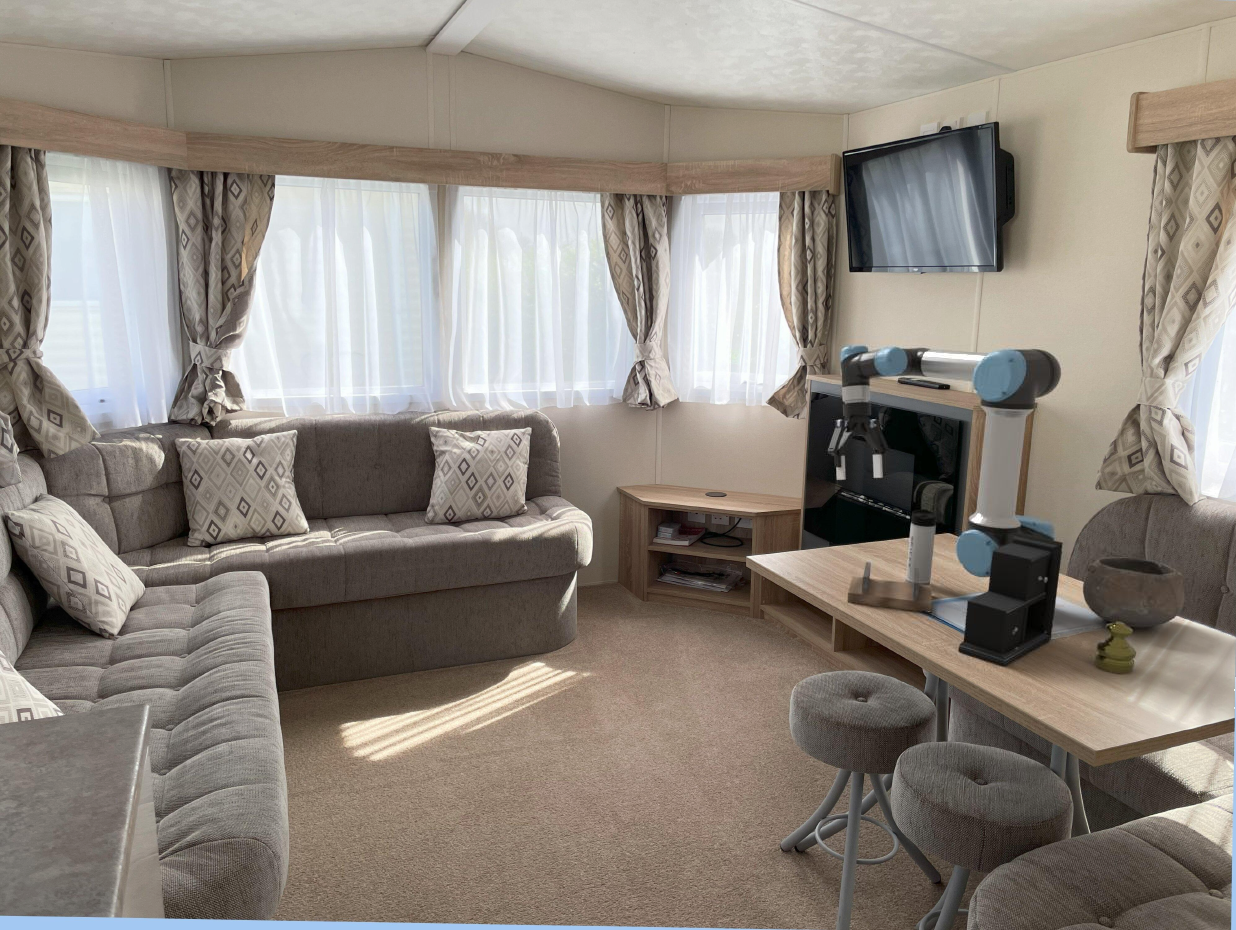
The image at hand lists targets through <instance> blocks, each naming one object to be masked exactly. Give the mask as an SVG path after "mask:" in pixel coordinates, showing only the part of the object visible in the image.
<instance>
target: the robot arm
mask: <svg viewBox="0 0 1236 930" xmlns="http://www.w3.org/2000/svg"><path fill="white" fill-rule="evenodd" d="M839 364H840V371H841V372H840V373H841V392H842V393H841V395H842V402H843V404H842V416H843V417H844V419H836V420H835V428H834V431H833V434H832V437H831V440H830V443H829V446H828V448H827V453H828V454H829V455H830V456H831V457H833V460H834V463H833V464H834V468H836V480H837V481H838V480H839V481H842V480H846V477H847V476H846V458H845V457H846V456H845V455H843V454H844V452H845V450H846V449H847V447H848V445H849V444H850V442H851V440H852V439H853V438H854V437H855V436H856V437H857V436H859V437H863V438H864V439H865V441H866V442H867V444H868V445H869V447H870V448H871V450H872V451H873V453H874V454H872V463H873V464H872V468H873V478H874V479H879V478H881V479H882V478H884V475H883V471H884V470H883V466H884V455H886V454H887V453H888V452H889V451H890V448H889V446H888V444H887V440H886V439H885V436H884V435H883V432H882V430H881V425H880V420H879V419H877V418H875V419H870V416H871V415H872V405H871V402H869V401H870V400H871V386H870V385H871V382H870V380H872V379H878V378H888V377H891V378H892V377H906V376H907V377H908V376H909V377H911V376H912V377H913V376H914V377H925V378H937V379H943V380H944V379H945V380H955V381H966V382H972V384H973V385H972V386H973V389H974V390H975V391H976V394H977V396H978V397H980V405H979V406H980V407H981V408H982V410H983V411H984V412H985V413H986V414H985V415H986V416H985V425H984V436H983V443H982V444H983V446H982V454H981V462H980V463H981V464H980V472H979V473H980V474H979V481H978V482H979V483H978V492H977V502H976V510H975V512H974V513H973V514H971V515H970V516H969V517H968V523H967V530H964V531H963V532H962V533H961V535H959V537H958V538H957V539H956V540H957V541H956V544H955V552H956V556H957V559H958V561H959V563H960V564H961V565H962V567H963V568H964V570H965V571H966V572H968V573H969V574H970V575H972V576H975V577H977V578H990V570H991V562H992V554H993V550H995V549H997V548H1000V547H1002V546H1005V545H1008V544H1010V543H1012V542H1013V536H1014V534H1015V533H1021V534H1026V535H1031V536H1035V537H1040V538H1044V539H1049V540H1053V541H1056V540H1055V526H1054V524H1052V523H1051V522H1049V521H1046V520H1044V519H1040V518H1036V517H1032V516H1031V517H1030V516H1026V515H1019V514H1016V510H1017V503H1018V502H1017V501H1018V500H1017V499H1018V491H1019V482H1020V475H1021V474H1020V473H1021V464H1022V454H1023V448H1024V439H1025V430H1026V422H1027V421H1026V420H1027V416H1029V414H1031V413H1033V411H1034V410H1035V404H1036V399H1039V398H1042V397H1045V396H1047V395H1049V394H1050V393H1052V392H1053V391H1054V390H1055V389H1056V388H1057V386H1058V385H1059V383H1060V380H1061V377H1062V368H1061V364H1060V362H1059V361H1058V358H1057V357H1055V356H1054V355H1053V354H1052V353H1051V352H1049V351H1046V350H1043V349H1039V348H1030V349H1029V348H1028V349H1024V348H1023V349H1021V348H1019V349H1017V348H1016V349H1015V348H1013V349H1011V348H1007V349H1005V348H1004V349H1001V350H1000V349H999V350H995V351H991V352H989V353H988V352H977V351H976V352H975V351H961V350H945V349H931V348H929V347H928V348H926V347H915V348H912V347H911V348H903V347H902V348H900V347H899V346H890V347H889V346H886V347H883V348H879V349H874V350H869V347H867V346H866V345H852V346H851V345H850V346H846V347H843V348H842V349H841V351H840V363H839Z"/></svg>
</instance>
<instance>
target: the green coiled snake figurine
mask: <svg viewBox="0 0 1236 930" xmlns="http://www.w3.org/2000/svg"><path fill="white" fill-rule="evenodd" d="M1105 629H1106V630H1107V631H1108V632H1109V633H1110V636H1109V637H1108V638H1106V639H1104V640H1101V641H1098V643H1096V648H1095V649H1096V653H1094V655H1095V657H1094V658H1095V659H1094V665H1095V666H1096V667H1097V668H1099V669H1101V670H1103V671H1106V672H1109V673H1112V674H1119V675H1124V674H1125V675H1127V674H1130V673H1133V672H1134V668H1135V663H1136V662H1135V658H1136V655H1137V651H1136V649H1135V648H1134V647H1132V645H1130V643H1129V642H1128V641H1127V639H1126V637H1128V636H1129V635H1131V634H1133V629H1132V627H1129V626H1127V625H1125V624H1124V623H1122V622H1115V623H1112V622H1110V623H1107V624H1106V625H1105Z"/></svg>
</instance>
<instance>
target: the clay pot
mask: <svg viewBox="0 0 1236 930" xmlns="http://www.w3.org/2000/svg"><path fill="white" fill-rule="evenodd" d="M1185 579H1186V577H1185V576H1184V575H1183V574H1182V572H1179V571H1178V570H1176V569H1175V568H1172V567H1171V566H1169V565H1167V564H1164V563H1163V562H1160V563H1157V562H1156V561H1154V560H1150V559H1149V560H1148V559H1143V558H1136V557H1127V556H1126V557H1121V556H1119V557H1118V556H1117V557H1116V556H1115V557H1113V556H1112V557H1102V558H1101V557H1100V558H1098V559H1097V560H1095V561H1094V562H1093V563H1090V564H1089V566H1088V567H1087V572H1086V575H1085V577H1084V580H1083V584H1082V593H1083V599H1084V601H1085V603H1086V605H1087V606H1088V608H1089V609H1090V610H1091V612H1092V613H1093V614H1095V615H1096V616H1097V617H1099V618H1101V619H1102V620H1104V621H1107V622H1110V623H1115V622H1122V623H1124V624H1125V625H1127V626H1129V627H1130V628H1132V627H1133V628H1152V627H1157V626H1160V625H1165V624H1166V623H1168V622H1170V621H1172V620H1174V619H1175V618H1176V617H1177V616H1178V615H1179V614H1180V612H1181V611H1182V610H1183V608H1184V604H1185V597H1186V596H1185V587H1184V580H1185Z"/></svg>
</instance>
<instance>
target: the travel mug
mask: <svg viewBox="0 0 1236 930" xmlns="http://www.w3.org/2000/svg"><path fill="white" fill-rule="evenodd" d="M936 522H937V514H936V512H934V511H930V510H929V509H926V508H925V509H924V508H921V509H916V510H913V511H912V513H911V522H910V529H909V530H910V531H909V540H908V553H907V562H906V575H905V583H912V584H913V581H914V570H915V568H920V573H919V584H920V585H928V586H931V577H932V575H931V574H932V566H933V559H934V558H933V557H934V548H935V547H934V546H935V535H936V527H937V523H936Z"/></svg>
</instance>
